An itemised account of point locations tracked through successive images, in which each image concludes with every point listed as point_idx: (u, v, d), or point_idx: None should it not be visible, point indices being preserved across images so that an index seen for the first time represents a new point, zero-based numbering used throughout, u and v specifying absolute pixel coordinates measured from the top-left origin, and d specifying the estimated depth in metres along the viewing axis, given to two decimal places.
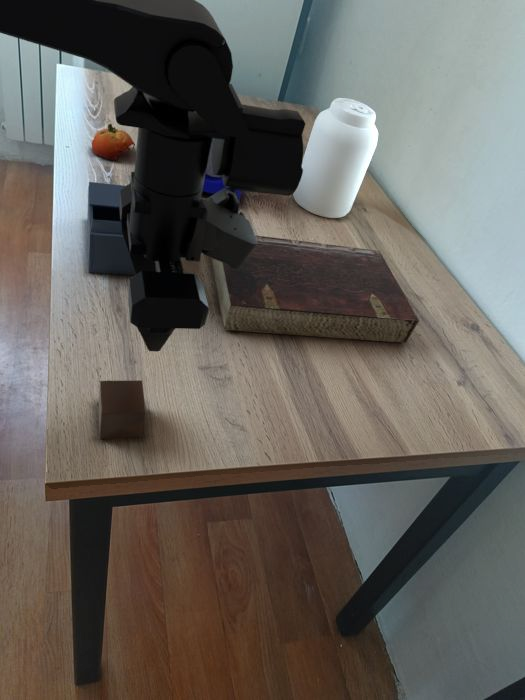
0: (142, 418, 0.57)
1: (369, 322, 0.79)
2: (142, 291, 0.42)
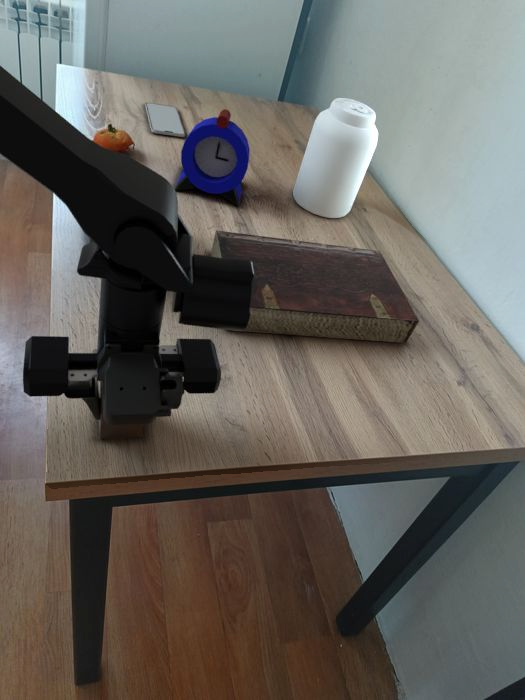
0: None
1: (369, 322, 0.79)
2: (41, 336, 0.52)
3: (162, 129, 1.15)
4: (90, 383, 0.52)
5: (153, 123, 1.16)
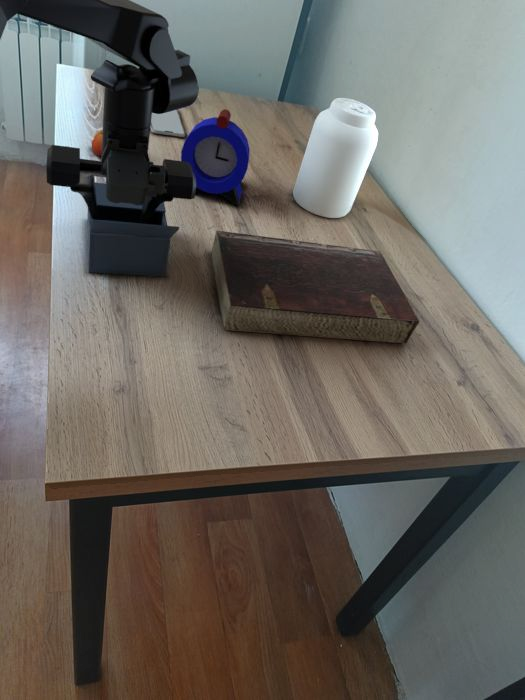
0: None
1: (369, 322, 0.79)
2: (59, 146, 0.69)
3: (162, 129, 1.15)
4: (90, 181, 0.69)
5: (153, 123, 1.16)
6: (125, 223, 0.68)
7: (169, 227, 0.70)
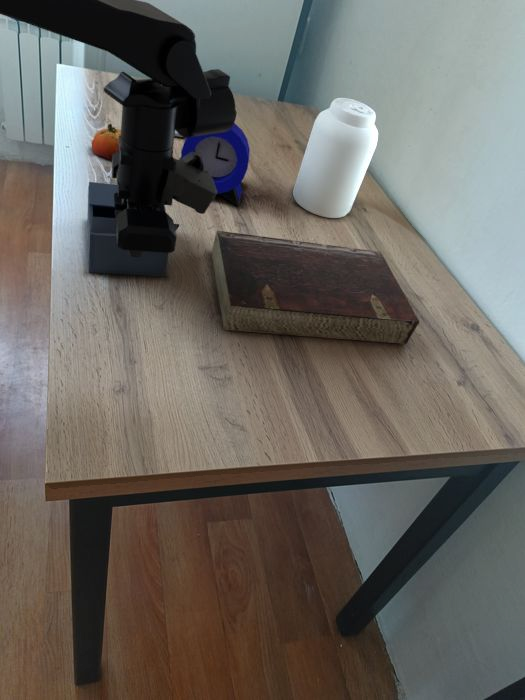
0: None
1: (369, 323, 0.79)
2: (126, 221, 0.57)
3: None
4: None
5: None
6: None
7: None
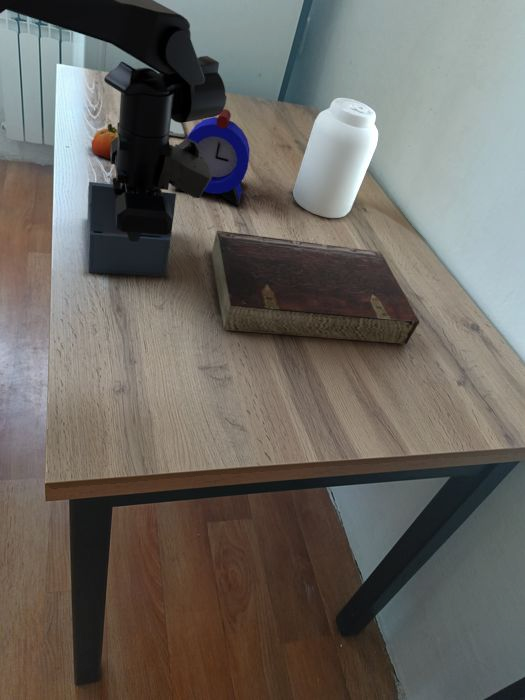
0: None
1: (369, 323, 0.79)
2: (124, 204, 0.60)
3: None
4: None
5: None
6: None
7: (166, 193, 0.72)
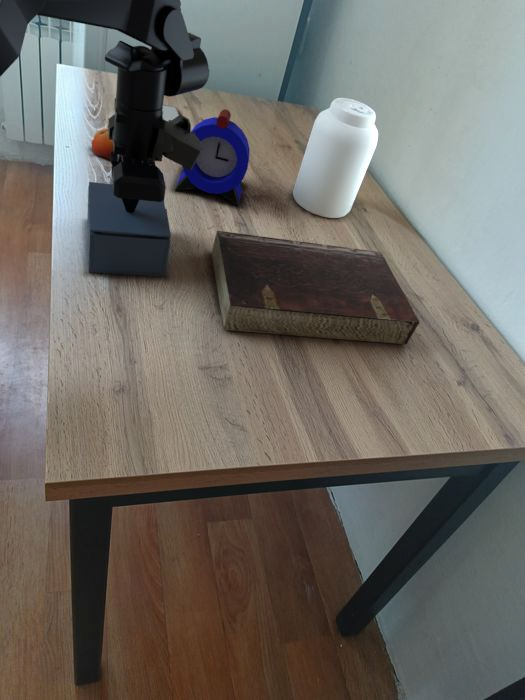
0: None
1: (369, 323, 0.79)
2: (121, 172, 0.65)
3: None
4: None
5: None
6: (119, 204, 0.78)
7: (157, 208, 0.80)
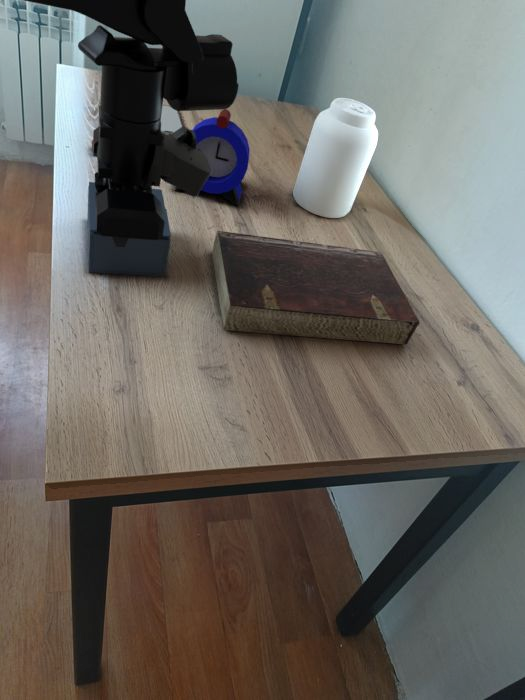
0: None
1: (369, 323, 0.79)
2: (106, 203, 0.49)
3: (162, 129, 1.15)
4: None
5: None
6: None
7: None
